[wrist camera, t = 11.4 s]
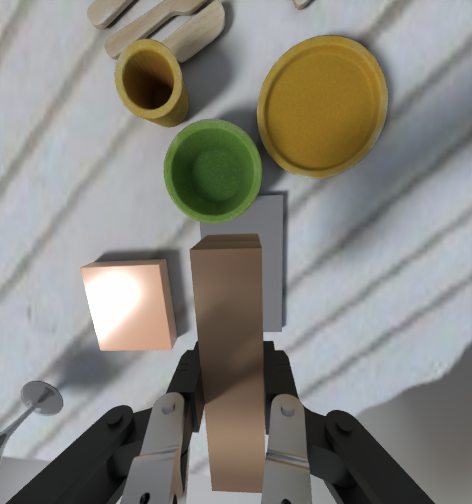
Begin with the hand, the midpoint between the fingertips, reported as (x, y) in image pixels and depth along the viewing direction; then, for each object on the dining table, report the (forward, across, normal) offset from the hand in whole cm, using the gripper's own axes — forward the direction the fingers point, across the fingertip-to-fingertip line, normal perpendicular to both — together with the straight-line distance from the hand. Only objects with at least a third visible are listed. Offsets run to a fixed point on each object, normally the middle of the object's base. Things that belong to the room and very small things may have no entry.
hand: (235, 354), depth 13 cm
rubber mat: (+16, 0, 0) cm, 16 cm away
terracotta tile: (+15, +15, -1) cm, 21 cm away
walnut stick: (+2, 0, 0) cm, 2 cm away
